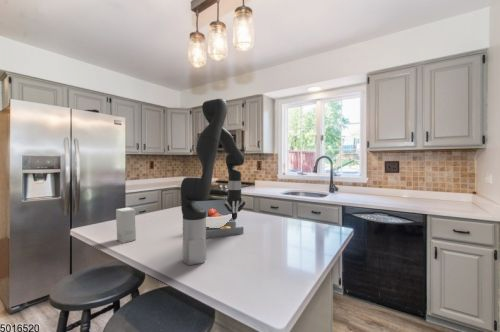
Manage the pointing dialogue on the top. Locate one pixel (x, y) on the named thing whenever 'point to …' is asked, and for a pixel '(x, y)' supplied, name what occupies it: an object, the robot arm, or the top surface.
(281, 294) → the top surface
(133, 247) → the top surface
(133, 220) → the skincare box
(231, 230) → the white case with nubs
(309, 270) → the top surface
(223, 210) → the cover
